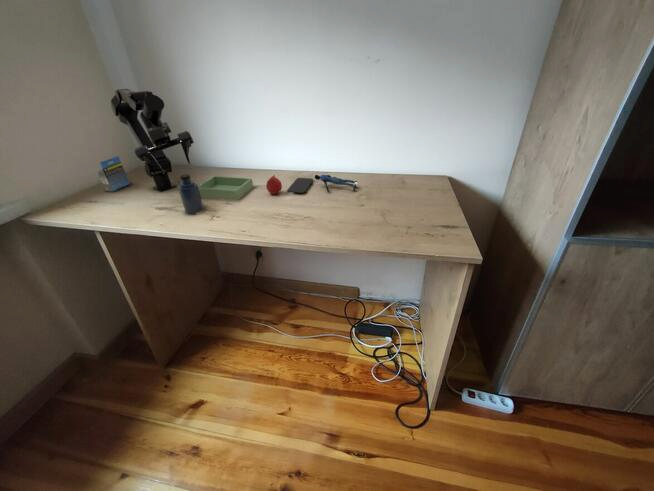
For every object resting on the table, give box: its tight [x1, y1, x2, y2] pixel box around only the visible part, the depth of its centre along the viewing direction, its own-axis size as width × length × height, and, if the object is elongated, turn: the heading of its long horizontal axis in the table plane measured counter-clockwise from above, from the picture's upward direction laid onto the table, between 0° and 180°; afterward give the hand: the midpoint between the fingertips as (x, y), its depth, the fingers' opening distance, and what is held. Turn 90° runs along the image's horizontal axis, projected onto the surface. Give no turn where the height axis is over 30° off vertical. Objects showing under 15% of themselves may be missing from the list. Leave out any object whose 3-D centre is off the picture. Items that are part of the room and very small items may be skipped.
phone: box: [286, 177, 314, 195], centre depth 122 cm, size 7×1×15 cm
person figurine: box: [314, 174, 359, 193], centre depth 119 cm, size 11×4×18 cm
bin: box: [198, 175, 254, 201], centre depth 117 cm, size 17×13×4 cm
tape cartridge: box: [97, 155, 131, 193], centre depth 122 cm, size 9×4×12 cm, turn 164°
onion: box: [265, 174, 283, 196], centre depth 113 cm, size 6×6×8 cm
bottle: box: [177, 173, 205, 216], centre depth 102 cm, size 6×6×13 cm
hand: (176, 168), depth 104 cm, fingers open, 9 cm apart
